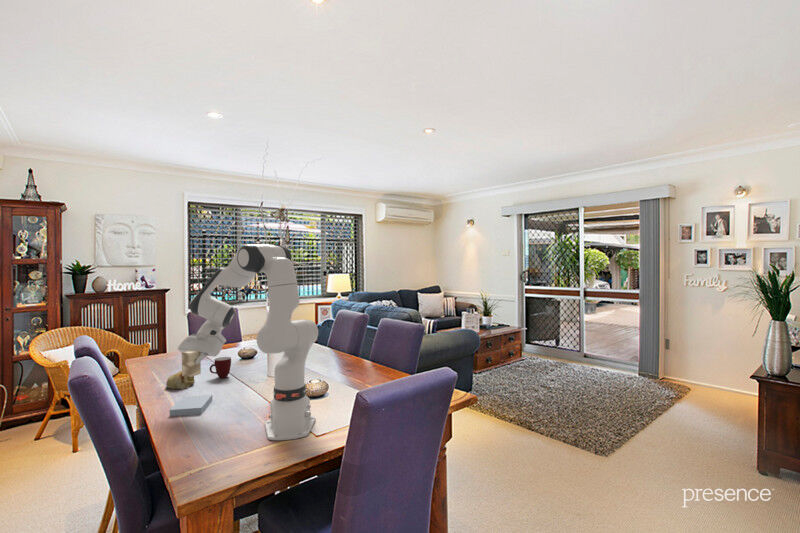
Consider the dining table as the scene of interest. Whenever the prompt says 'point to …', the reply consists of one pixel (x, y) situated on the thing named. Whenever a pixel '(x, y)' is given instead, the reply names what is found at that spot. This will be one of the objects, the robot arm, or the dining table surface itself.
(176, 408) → the base plate
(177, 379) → the pastry
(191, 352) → the maple block
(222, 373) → the mug
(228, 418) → the dining table surface
